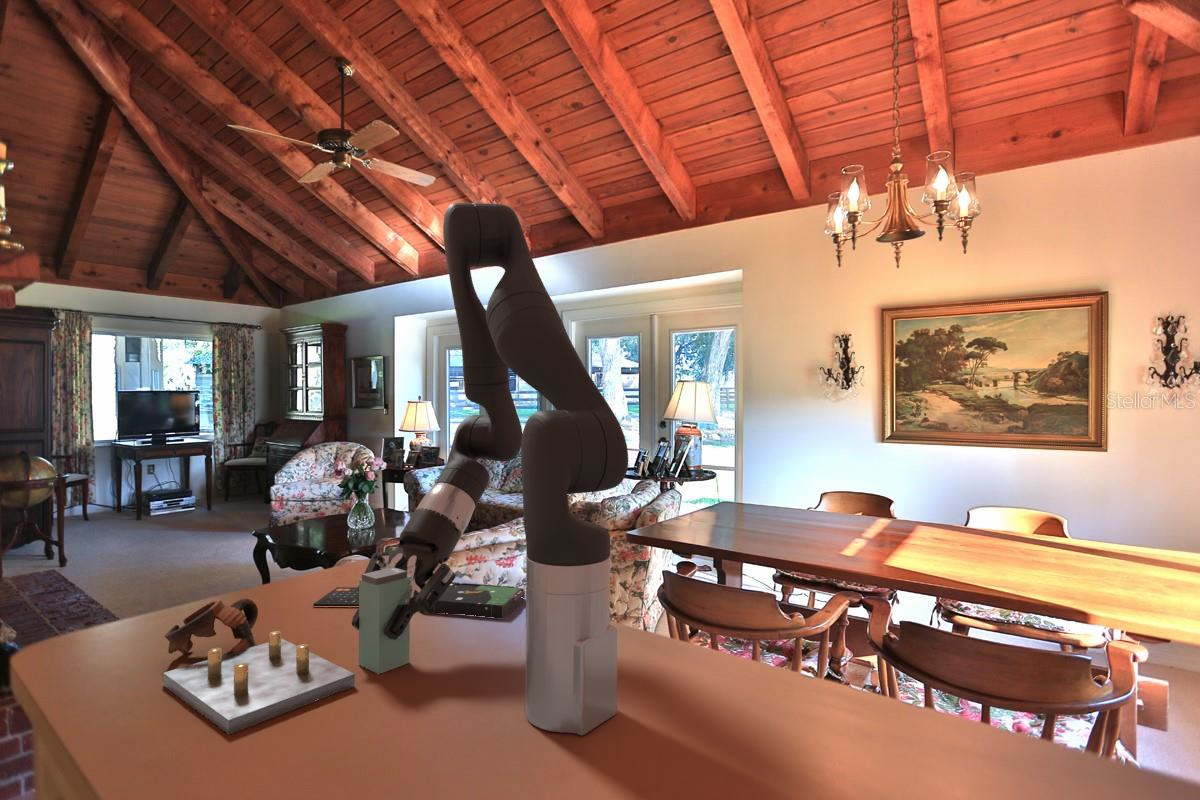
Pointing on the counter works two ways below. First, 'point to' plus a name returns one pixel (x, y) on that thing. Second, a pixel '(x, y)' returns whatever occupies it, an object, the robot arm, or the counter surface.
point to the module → (381, 620)
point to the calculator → (340, 597)
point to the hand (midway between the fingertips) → (373, 631)
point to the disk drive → (478, 600)
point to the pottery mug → (204, 625)
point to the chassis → (256, 682)
